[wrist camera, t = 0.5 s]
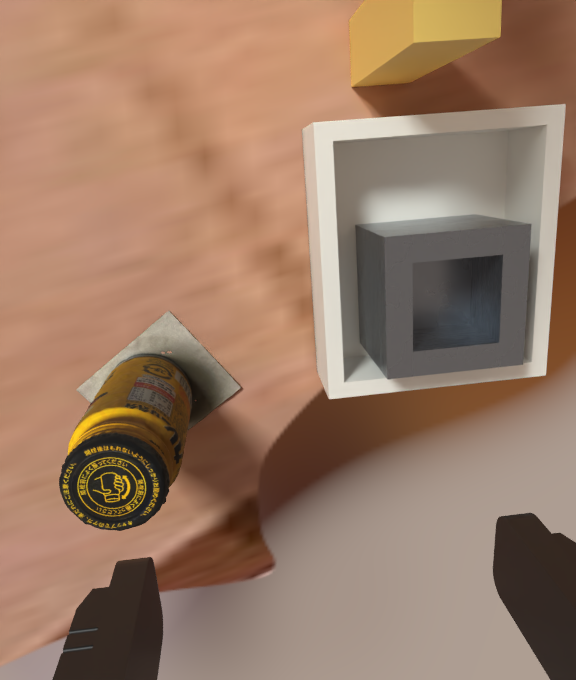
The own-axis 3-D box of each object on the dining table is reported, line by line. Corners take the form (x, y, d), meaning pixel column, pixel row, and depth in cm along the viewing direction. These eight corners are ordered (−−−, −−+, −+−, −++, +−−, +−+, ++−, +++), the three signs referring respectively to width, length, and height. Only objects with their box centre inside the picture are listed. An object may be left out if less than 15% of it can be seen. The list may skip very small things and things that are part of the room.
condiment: (77, 388, 37) (8, 484, 26) (168, 309, 36) (140, 373, 25) (152, 458, 39) (119, 576, 28) (241, 386, 38) (244, 476, 27)
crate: (301, 129, 34) (313, 122, 29) (520, 113, 35) (565, 103, 30) (317, 371, 38) (329, 399, 34) (508, 350, 39) (546, 375, 35)
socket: (355, 224, 35) (384, 237, 28) (475, 214, 36) (531, 224, 29) (359, 342, 37) (387, 379, 31) (472, 330, 38) (523, 364, 31)
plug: (349, 20, 32) (412, -64, 21) (408, 16, 32) (504, -68, 21) (351, 87, 33) (413, 42, 22) (409, 83, 33) (500, 36, 22)
